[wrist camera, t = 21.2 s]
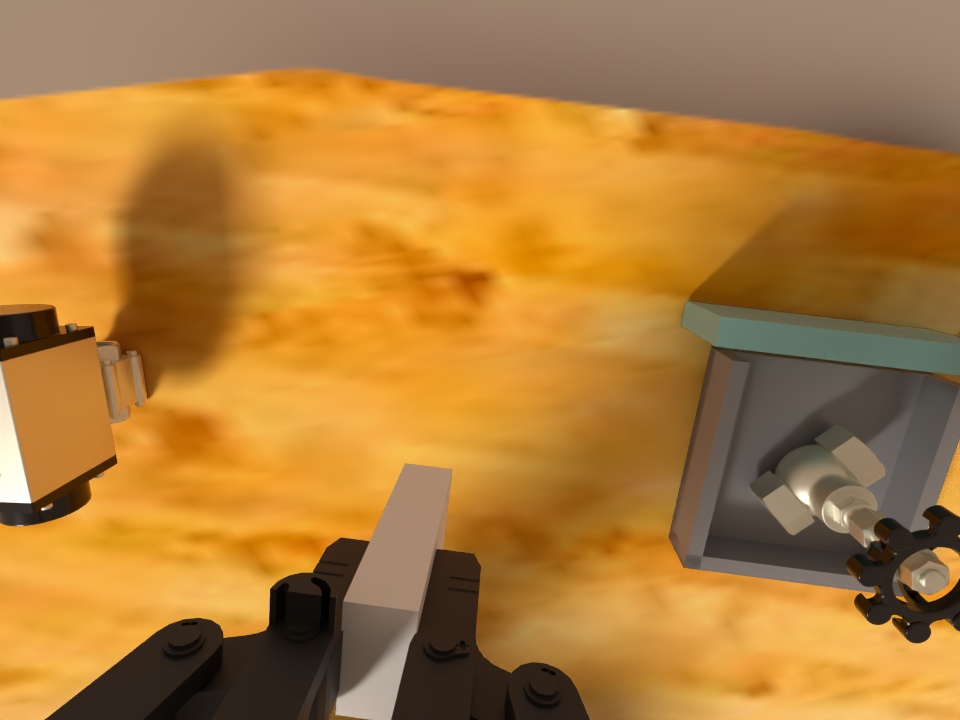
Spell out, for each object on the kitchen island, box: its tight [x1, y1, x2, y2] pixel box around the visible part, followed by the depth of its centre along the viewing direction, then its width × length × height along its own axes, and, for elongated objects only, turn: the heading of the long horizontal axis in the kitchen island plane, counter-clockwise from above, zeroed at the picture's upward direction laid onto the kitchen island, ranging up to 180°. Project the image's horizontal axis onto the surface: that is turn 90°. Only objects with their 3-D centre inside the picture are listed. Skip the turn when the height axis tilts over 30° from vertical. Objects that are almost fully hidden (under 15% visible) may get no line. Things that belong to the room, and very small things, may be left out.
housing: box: [669, 347, 960, 597], centre depth 33 cm, size 17×17×6 cm
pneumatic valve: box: [0, 304, 147, 526], centre depth 32 cm, size 6×12×12 cm, turn 0°
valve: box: [750, 425, 960, 643], centre depth 30 cm, size 7×7×12 cm
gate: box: [681, 301, 960, 376], centre depth 31 cm, size 2×15×6 cm, turn 84°
